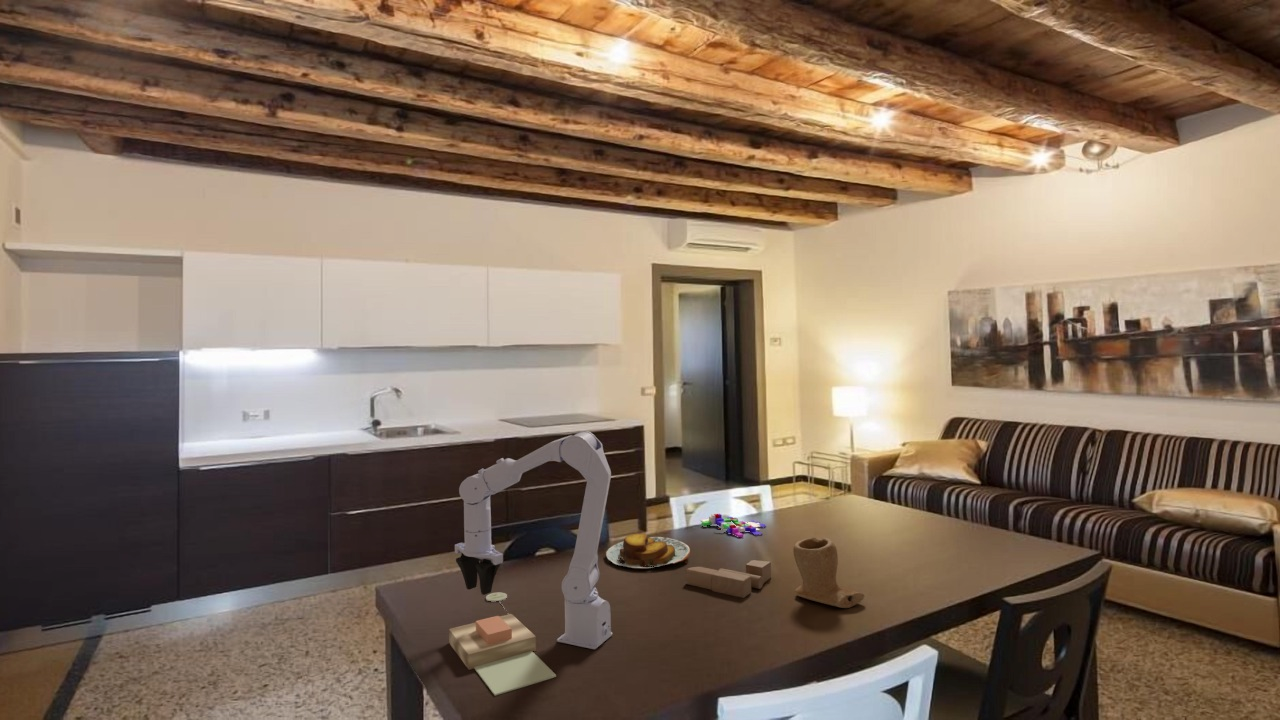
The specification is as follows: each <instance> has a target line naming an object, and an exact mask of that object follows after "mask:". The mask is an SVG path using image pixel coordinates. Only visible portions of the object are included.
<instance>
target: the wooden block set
mask: <svg viewBox="0 0 1280 720" xmlns="http://www.w3.org/2000/svg"><path fill="white" fill-rule="evenodd" d="M771 562H772V561H767V560H766V561H765V560H758V559H757V560H756V559H752V560H749V562H747V563H746V564H745V572H742V571H741V572H740V571H737V570H732V569H726V568H719V569H718V570H717V569H713V568H709V567H708V568H707V567H704V566H694V567H689V568H687V569H686V570H685V580H686V581H685V583H686V584H687V585H688V586H689V585H690V586H694V587H696V588H697V587H698V588H700V589H701V588H702V589H707V590H710V591H712V592H715V593H721V594H724V595H729V596H733V597H736V598H743V599H744V598H746V597H747V596H748V595H750V594H752V588H753V589H757V590H761V589H762V587H763V585H764V584H765V583H766V582H767V581H769V580H770V579H772V563H771Z"/></svg>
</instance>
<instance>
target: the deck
mask: <svg viewBox="0 0 1280 720" xmlns="http://www.w3.org/2000/svg"><path fill="white" fill-rule="evenodd" d="M508 614H509V615H508ZM508 614H506V615H501V616H499V617H500V618H501V619H502V620H503V621H504V622H505V623H506V624H507V625H508V626H509V627H510V628H511V629H512V638H511V639H508V640H504V641H500V642H496V643H492V644H489V645H488V644H487V643H486V642H485V641H484V639H483V638H482V637H481V636H480V635H479V634H478V632H477V631H476V622H472V623H469V624H464V625H463V624H462V625H460V626H455V627H452V628H448V643H449V645H450V646H451V648H452V649H453V650H454V652H455V653H456V654H457V656H458V657H459V659H460V660H461V661H462V663H463V664H464V665H465V667H466V668H467V669H468V670H469V671H470V670H475V669H474V667H476V666H480V665H483V664H487V663H490V662H494V661H497V660H501V659H505V658H508V657H512V656H515V655H519V654H522V653H526V652H529V651H532V652H533V651H534V652H537V637H536V635H535V634H534V633H533V632H532V631H531V630H529V629H528V628H527V627H526V626H525V625H524V624H523V623H522V622H521V621H520V620H519V619H518V618H517V617H516V616H515V615H514V614H513V613H508ZM534 652H533V653H534Z"/></svg>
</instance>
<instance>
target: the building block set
mask: <svg viewBox="0 0 1280 720" xmlns="http://www.w3.org/2000/svg"><path fill="white" fill-rule="evenodd" d="M699 521H700V522H701V526H702V525H704V526H707V525H712V524H717V525H719V526H720V527H722V528H723V529H727V532H728V533H732V534H734V535H736V536H738V537H744V534H743V533H744V532H745V531H750V532H751V533H753V534H755V535H759V534H762V535H763V533H762V532H760V531H761V528H755V527H766V528H767V526H766V524H765V523H761V522H760V521H755V520H749V521H750V522H749V521H746V522H745V521H743V520H742V521H741V520H740V521H739V518H737V517H732V516H730V517H729V516H727V517H726V518H722V513H714V514H711V515H709V516H708V518H706V519H700V520H699ZM731 521H732V522H733V523H734V524H735V525H736V526H735V525H730V524H728V523H726V522H731ZM747 522H748V523H747ZM745 524H748V525H745ZM756 530H760V531H759V532H758V531H756ZM727 532H726V533H727ZM740 532H741V533H740ZM751 533H750V534H751Z"/></svg>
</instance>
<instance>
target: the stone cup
mask: <svg viewBox="0 0 1280 720" xmlns="http://www.w3.org/2000/svg"><path fill="white" fill-rule="evenodd" d="M793 557H794V562H795V564H796V567H797V569H798V571H799V573H800V576H801V579H802V584H801V585H799V586H797V587H796V588H795V590H794V593H795V594H796V596H798V597H801V598H803V599H807V600H810V601H814V602H817V603H821V604H825V605H828V606H833V607H837V608H840V609H841V608H842V609H848V608H849V609H850V608H852V607H854V606H857V605H858V604H860V603H861V602H862V600H864V599H865V593H863V592H860V591H855V590H852V589H849V588H846V587H843V586H839V585H838V583H837V572H838V571H837V570H838V564H839V562H838V561H839V557H838V549H837V546H836V545H835V543H834V542H833V541H832V540H831V539H829V538H828V537H821V538H817V537H808V538H804V539H801V540H799V541H796V543H795V544H794V546H793Z"/></svg>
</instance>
